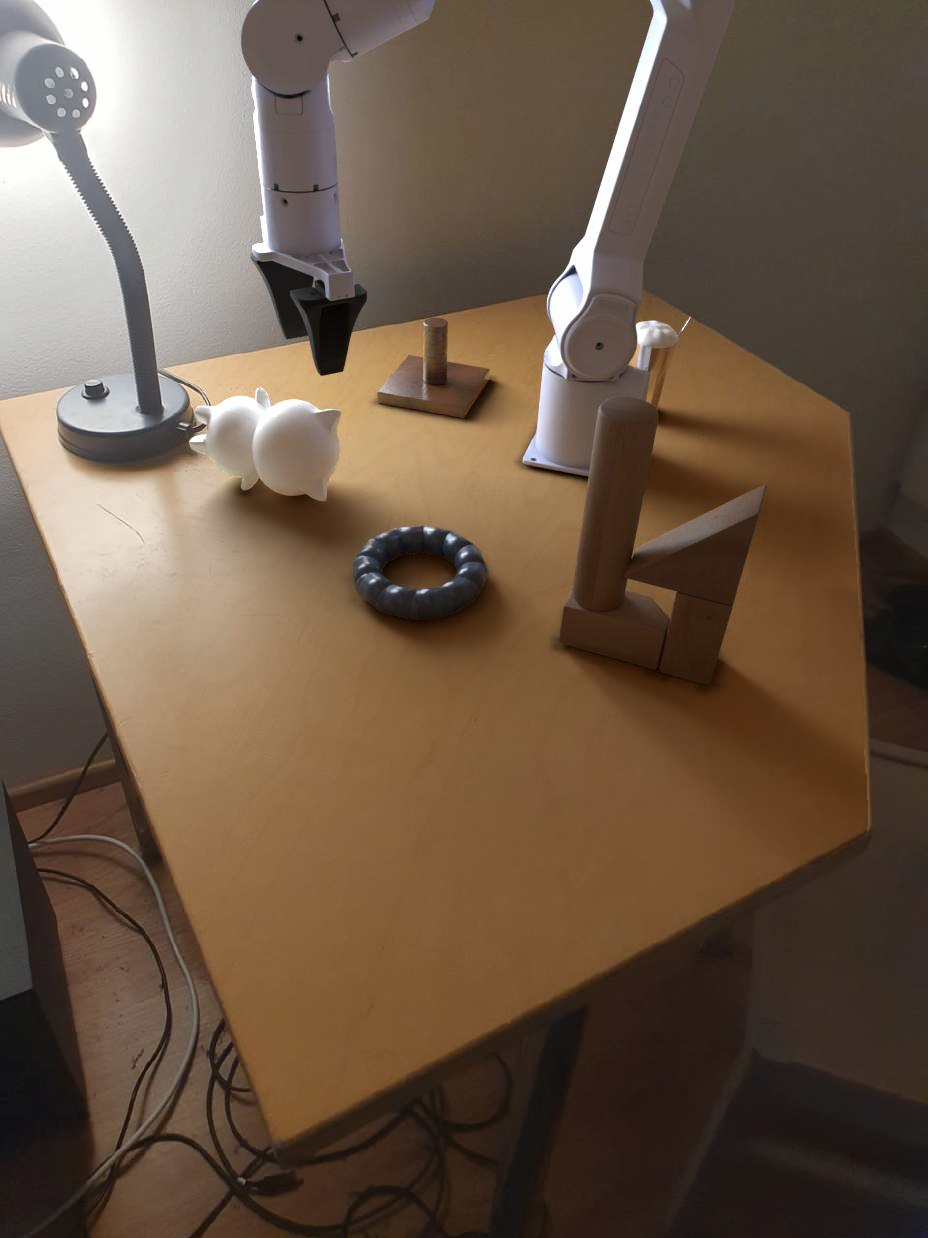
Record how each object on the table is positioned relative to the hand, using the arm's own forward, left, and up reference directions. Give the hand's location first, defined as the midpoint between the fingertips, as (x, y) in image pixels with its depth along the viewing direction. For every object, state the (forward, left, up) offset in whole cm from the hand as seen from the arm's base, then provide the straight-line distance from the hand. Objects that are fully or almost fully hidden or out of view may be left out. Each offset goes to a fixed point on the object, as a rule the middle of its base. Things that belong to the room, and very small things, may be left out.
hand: (313, 353), depth 77 cm
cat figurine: (+1, +5, -10) cm, 11 cm away
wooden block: (-32, +17, -10) cm, 37 cm away
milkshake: (-27, -18, -10) cm, 34 cm away
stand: (-6, -15, -10) cm, 19 cm away
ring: (-15, +15, -8) cm, 23 cm away
